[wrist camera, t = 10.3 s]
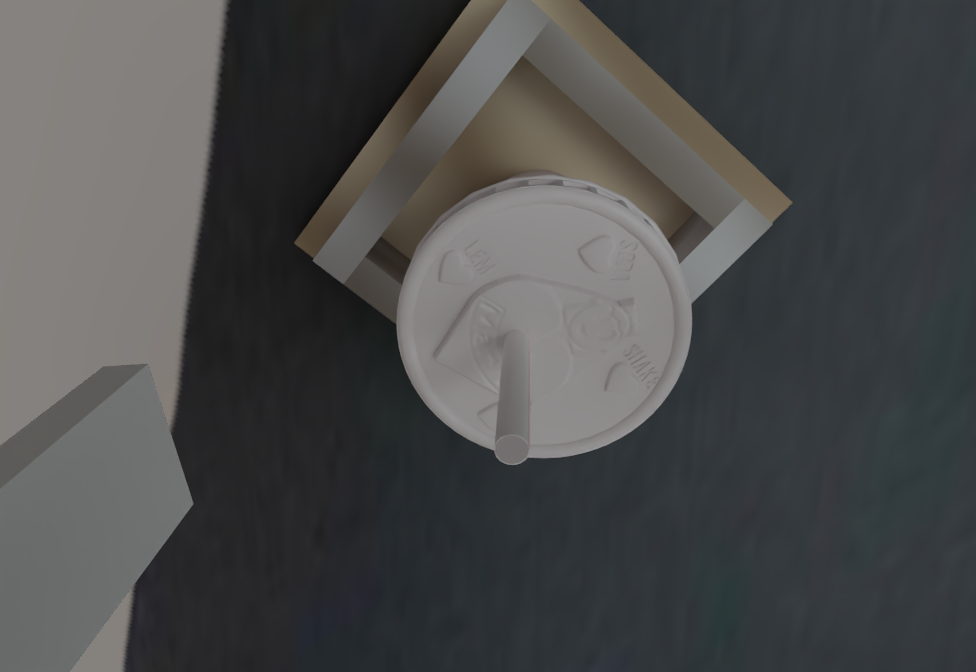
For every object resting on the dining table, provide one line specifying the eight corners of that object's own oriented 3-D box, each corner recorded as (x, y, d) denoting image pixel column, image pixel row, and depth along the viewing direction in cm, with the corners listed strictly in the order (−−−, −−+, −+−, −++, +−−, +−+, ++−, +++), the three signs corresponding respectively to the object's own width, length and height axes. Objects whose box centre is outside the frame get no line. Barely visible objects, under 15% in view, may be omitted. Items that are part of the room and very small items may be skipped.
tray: (515, -56, 21) (512, -73, 18) (782, 196, 24) (822, 220, 20) (302, 235, 25) (268, 264, 22) (549, 425, 28) (552, 475, 24)
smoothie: (422, 152, 23) (283, 295, 10) (615, 105, 22) (737, 193, 9) (470, 328, 25) (407, 626, 12) (647, 291, 24) (778, 573, 11)
